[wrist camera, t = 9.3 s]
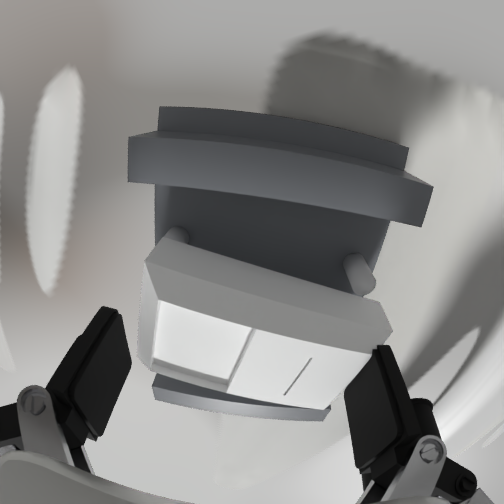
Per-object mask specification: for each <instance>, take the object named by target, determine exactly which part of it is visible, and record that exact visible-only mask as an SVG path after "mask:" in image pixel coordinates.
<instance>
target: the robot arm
mask: <svg viewBox="0 0 504 504" xmlns="http://www.w3.org/2000/svg"><path fill="white" fill-rule="evenodd" d="M131 365H132V361H131V356H130V352H129V348H128V343H127V339H126V335H125V329H124V325H123V319H122V315H121V314H119V313H118V311H117V310H116V309H113V308H109V307H105V306H102V307H101V308H100V309H99V311H98V312H97V313H96V315H95V316H94V318H93V319H92V321H91V322H90V323H89V325H88V326H87V328H86V329H85V331H84V332H83V334H82V335H80V336H78V338H77V339H76V340H75V342H74V343H73V345H72V346H71V348H70V349H69V351H68V352H67V354H66V355H65V357H64V358H63V360H62V362H61V364H60V365H59V366H58V368H57V370H56V371H55V373H54V375H53V376H52V378H51V379H50V381H49V383H48V384H47V386H46V388H43V387H41V386H38V385H31V386H28V387H26V388H24V389H23V390H22V391H21V392H20V394H19V395H18V399H17V402H16V403H13V404H10V405H6V406H2V407H0V504H193V503H188V502H183V501H178V500H173V499H169V498H165V497H161V496H156V495H153V494H149V493H145V492H142V491H139V490H135V489H132V488H129V487H126V486H123V485H120V484H117V483H114V482H112V481H109V480H106V479H103V478H101V477H98V476H96V475H95V473H94V471H93V468H92V466H91V464H90V461H89V459H88V456H87V453H86V451H85V448H84V443H85V441H86V438H89V439H91V440H94V441H97V438H98V436H102V435H103V433H104V430H105V428H106V426H107V423H108V421H109V418H110V416H111V413H112V411H113V408H114V406H115V404H116V401H117V399H118V397H119V394H120V392H121V389H122V387H123V385H124V383H125V380H126V378H127V376H128V373H129V371H130V369H131ZM344 400H345V405H346V411H347V416H348V422H349V428H350V434H351V440H352V446H353V453H354V460H355V466H356V467H357V468H358V469H359V471H360V474H365V473H371V476H372V480H371V482H370V484H369V485H368V487H367V488H366V490H365V491H364V493H363V494H362V495H361V497H360V498H359V500H358V501H357V503H356V504H494V503H493V502H492V501H491V500H490V499H489V498H488V496H487V495H486V494H485V493H484V492H483V491H482V490H481V489H480V488H478V489H476V488H477V480H476V477H475V475H474V474H473V473H472V472H471V471H469V470H468V469H466V468H464V467H463V466H461V465H459V464H458V463H456V462H454V461H452V460H451V459H449V458H448V457H446V455H447V450H446V446H445V444H444V442H443V441H442V440H441V439H440V438H438V437H437V436H434V435H427V436H424V437H423V436H422V433H421V429H420V426H419V423H418V420H417V417H416V414H415V411H414V408H413V405H412V402H411V399H410V396H409V393H408V391H407V388H406V385H405V382H404V380H403V378H402V375H401V372H400V370H399V367H398V364H397V362H396V359H395V357H394V354H393V352H392V349H391V347H390V346H389V345H377V349H372V356H371V358H370V359H369V361H368V362H367V363H366V364H365V366H364V367H363V368H362V369H361V370H360V372H359V373H358V374H357V375H356V376H355V377H354V379H353V380H352V381H351V382H350V383H349V384H348V385H347V387H346V389H345V391H344Z"/></svg>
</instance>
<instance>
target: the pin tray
mask: <svg viewBox="0 0 504 504" xmlns="http://www.w3.org/2000/svg"><path fill="white" fill-rule="evenodd" d="M408 151H409V148H408V147H405V146H402V145H399V144H396V143H393V142H389V141H386V140H383V139H379V138H376V137H372V136H369V135H365V134H361V133H358V132H354V131H350V130H346V129H341V128H337V127H333V126H328V125H324V124H319V123H314V122H309V121H304V120H298V119H293V118H287V117H281V116H274V115H267V114H260V113H251V112H243V111H234V110H224V109H211V108H194V107H160V108H159V120H158V131H154V132H150V133H145V134H141V135H136V136H132V137H129V141H128V182H135V183H147V184H155V246H156V245H157V244H158V242H159V241H160V240H161V238H162V237H165V238H169V239H172V240H175V241H178V242H181V243H185V244H188V245H191V246H194V247H197V248H201V249H204V250H207V251H210V252H213V253H217V254H220V255H223V256H226V257H230V258H233V259H236V260H239V261H243V262H246V263H249V264H252V265H256V266H259V267H262V268H266V269H269V270H272V271H276V272H279V273H282V274H285V275H289V276H292V277H295V278H299V279H302V280H306V281H309V282H312V283H316V284H319V285H322V286H326V287H329V288H333V289H336V290H339V291H343V292H346V293H350V294H353V295H356V296H360V297H363V296H364V295H367V294H369V293H370V292H372V291H373V289H374V288H375V286H376V280H375V278H374V276H373V274H372V273H373V270H374V267H375V265H376V262H377V259H378V256H379V253H380V251H381V248H382V245H383V242H384V239H385V236H386V233H387V229H388V226H389V223H390V220H391V221H395V222H400V223H404V224H409V225H413V226H417V227H422V224H423V221H424V218H425V215H426V211H427V208H428V205H429V202H430V198H431V195H432V191H433V188H434V187H433V186H431V185H429V184H428V183H426V182H424V181H422V180H420V179H419V178H417V177H415V176H413V175H411V174H409V173H407V172H406V171H404V168H405V164H406V160H407V155H408ZM152 389H153V393H154V397H155V400H159V401H163V402H167V403H171V404H176V405H180V406H185V407H190V408H195V409H201V410H206V411H211V412H217V413H224V414H231V415H238V416H246V417H255V418H265V419H278V420H294V421H323V420H324V419H325V417H326V416H327V414H328V413H329V412H330V410H331V405H329V406H328V407H326V408H325V409H324V410H320V409H312V408H304V407H297V406H290V405H284V404H278V403H272V402H267V401H261V400H256V399H251V398H247V397H242V396H237V395H233V394H229V393H225V392H221V391H217V390H213V389H209V388H205V387H201V386H198V385H194V384H191V383H187V382H184V381H181V380H177V379H174V378H171V377H168V376H165V375H162V374H159V373H157V374H156V376H155V379H154V382H153V384H152Z"/></svg>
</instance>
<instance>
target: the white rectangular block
mask: <svg viewBox="0 0 504 504" xmlns="http://www.w3.org/2000/svg"><path fill="white" fill-rule="evenodd" d="M392 332H393V330H392V328H391V325H390V323H389V321H388V319H387V317H386V315H385V313H384V310H383V308H382V306H381V304H380V302H377V301H374V300H370V299H367V298H363V297H360V296H356V295H353V294H350V293H346V292H343V291H339V290H336V289H333V288H329V287H326V286H322V285H319V284H316V283H312V282H309V281H306V280H302V279H299V278H295V277H292V276H289V275H285V274H282V273H279V272H276V271H272V270H269V269H266V268H262V267H259V266H256V265H252V264H249V263H246V262H243V261H239V260H236V259H233V258H230V257H226V256H223V255H220V254H217V253H213V252H210V251H207V250H204V249H201V248H197V247H194V246H191V245H188V244H185V243H181V242H178V241H175V240H172V239H169V238H165V237H162V238H161V240H160V241H159V242H158V244H157V245H156V246H155V248H154V249H153V250H152V252H151V253H150V254H149V256H148V257H147V258H146V260H145V262H144V270H143V278H142V288H141V298H140V310H139V323H138V341H137V357H138V358H139V360H140V361H141V362H142V363H143V364H144V365H145V366H146V367H147V368H148V369H149V370H150V371H153V372H156V373H159V374H162V375H165V376H168V377H171V378H174V379H177V380H181V381H184V382H187V383H191V384H194V385H198V386H201V387H205V388H209V389H213V390H217V391H221V392H225V393H229V394H233V395H237V396H242V397H247V398H251V399H256V400H261V401H267V402H272V403H278V404H284V405H290V406H297V407H304V408H312V409H320V410H324V409H325V408H326V407H328V406H329V405H330V404H331V403H332V402H333V401H334V400H335V399H336V398H337V397H338V396H339V395H340V394H341V393H342V392H343V391H344V389H345V388H346V387H347V385H348V384H349V383H350V382H351V381H352V380H353V379H354V377H355V376H356V375H357V374H358V373H359V372H360V370H361V369H362V368H363V367H364V366H365V364H366V363H367V362H368V361H369V359H370V358H371V356H372V349H377V345H383V344H384V342H385V341H386V340H387V338H388V337H389V336H390V334H391V333H392Z"/></svg>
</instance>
